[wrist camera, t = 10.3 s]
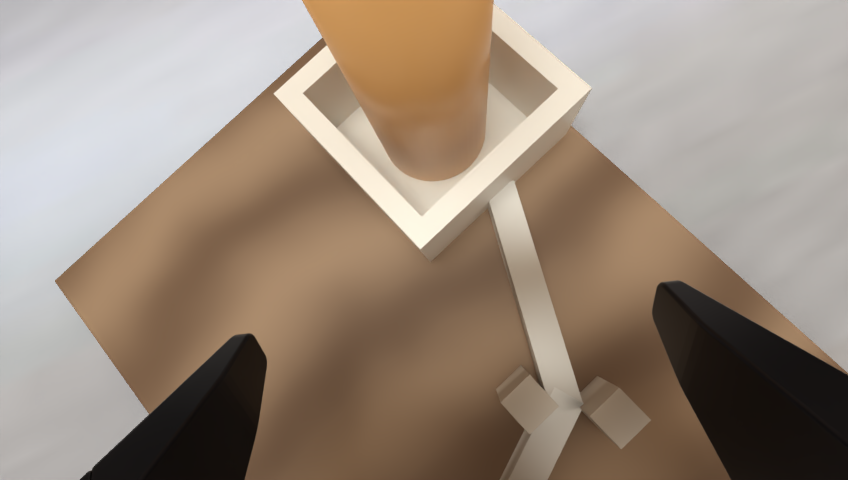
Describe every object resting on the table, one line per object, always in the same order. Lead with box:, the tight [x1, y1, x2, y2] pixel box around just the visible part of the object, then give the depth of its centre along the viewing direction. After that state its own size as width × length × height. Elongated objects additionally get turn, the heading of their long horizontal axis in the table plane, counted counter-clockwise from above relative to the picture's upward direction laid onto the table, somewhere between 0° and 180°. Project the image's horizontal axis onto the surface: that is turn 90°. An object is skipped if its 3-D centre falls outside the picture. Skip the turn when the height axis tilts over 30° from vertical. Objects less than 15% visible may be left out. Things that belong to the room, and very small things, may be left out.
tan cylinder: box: [302, 0, 494, 181], centre depth 13 cm, size 4×4×12 cm
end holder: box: [274, 3, 592, 262], centre depth 17 cm, size 8×8×4 cm
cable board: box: [55, 38, 848, 480], centre depth 17 cm, size 26×22×4 cm
